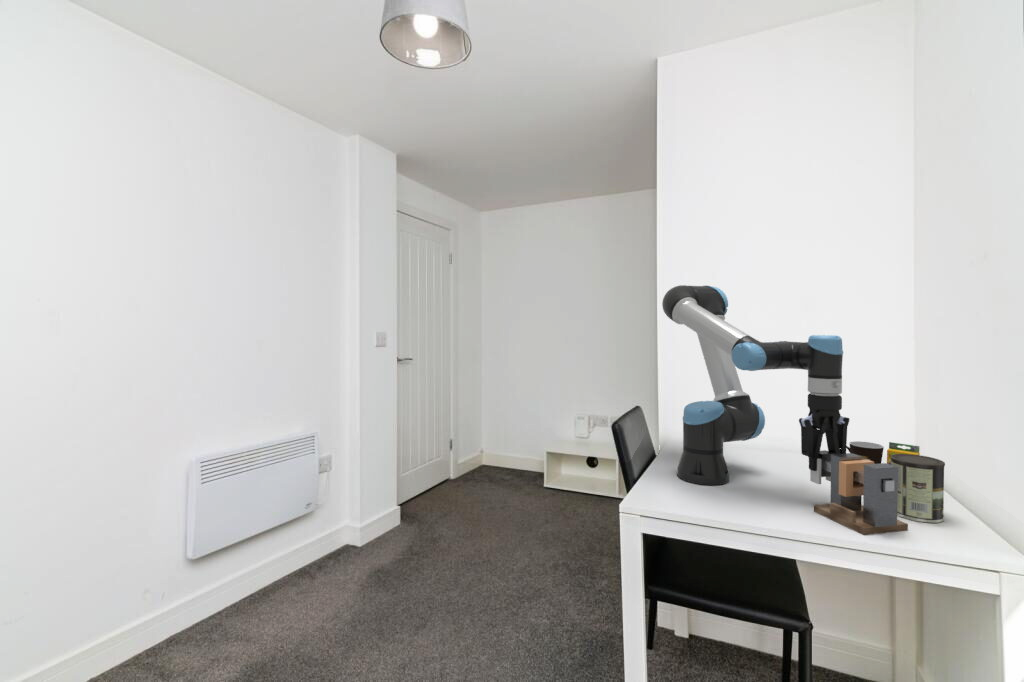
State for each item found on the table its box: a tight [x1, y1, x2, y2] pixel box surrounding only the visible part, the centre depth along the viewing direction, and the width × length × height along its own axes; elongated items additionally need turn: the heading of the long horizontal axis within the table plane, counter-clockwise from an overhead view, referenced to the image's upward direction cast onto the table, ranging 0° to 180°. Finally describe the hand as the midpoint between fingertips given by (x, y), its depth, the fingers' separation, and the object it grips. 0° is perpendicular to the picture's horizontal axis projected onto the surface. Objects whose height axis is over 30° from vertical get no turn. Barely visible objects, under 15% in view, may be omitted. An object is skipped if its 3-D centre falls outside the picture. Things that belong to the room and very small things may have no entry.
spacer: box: [839, 460, 874, 497], centre depth 115 cm, size 2×8×8 cm, turn 101°
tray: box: [813, 503, 909, 536], centre depth 115 cm, size 14×12×4 cm
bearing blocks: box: [829, 452, 898, 527], centre depth 114 cm, size 12×6×14 cm, turn 11°
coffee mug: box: [846, 440, 885, 464], centre depth 149 cm, size 12×9×10 cm
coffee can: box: [891, 454, 946, 524], centre depth 118 cm, size 10×10×14 cm
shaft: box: [819, 449, 894, 492], centre depth 116 cm, size 20×4×6 cm, turn 11°
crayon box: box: [886, 441, 921, 465], centre depth 141 cm, size 7×3×12 cm, turn 43°
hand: (823, 481), depth 125 cm, fingers closed on shaft, 4 cm apart
